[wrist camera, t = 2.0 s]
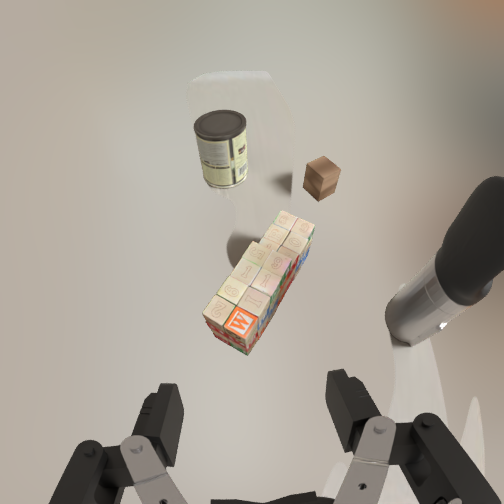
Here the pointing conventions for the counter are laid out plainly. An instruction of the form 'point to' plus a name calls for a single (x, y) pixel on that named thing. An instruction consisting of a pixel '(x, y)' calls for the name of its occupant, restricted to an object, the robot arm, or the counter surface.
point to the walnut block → (321, 178)
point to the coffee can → (222, 147)
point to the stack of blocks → (259, 283)
